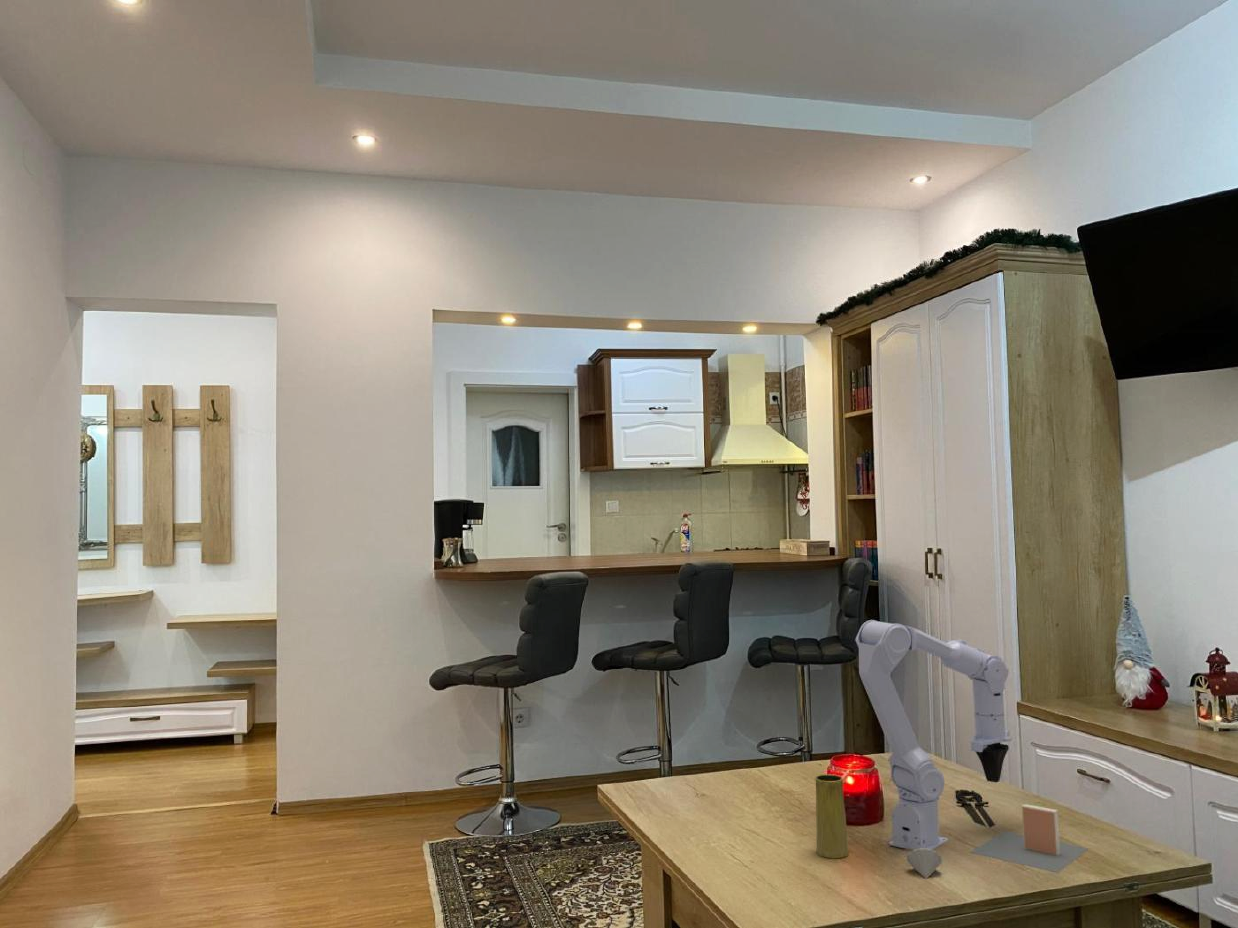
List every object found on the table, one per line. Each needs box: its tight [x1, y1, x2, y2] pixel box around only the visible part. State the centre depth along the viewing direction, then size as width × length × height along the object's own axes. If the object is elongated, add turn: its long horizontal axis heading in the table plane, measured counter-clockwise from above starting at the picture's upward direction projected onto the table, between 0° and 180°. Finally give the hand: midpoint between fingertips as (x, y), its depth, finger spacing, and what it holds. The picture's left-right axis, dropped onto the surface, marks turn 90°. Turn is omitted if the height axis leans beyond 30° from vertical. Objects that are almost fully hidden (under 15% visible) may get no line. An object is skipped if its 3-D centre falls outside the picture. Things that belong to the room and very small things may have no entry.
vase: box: [814, 773, 850, 859], centre depth 176 cm, size 6×6×14 cm
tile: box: [1021, 804, 1061, 856], centre depth 173 cm, size 2×6×8 cm, turn 45°
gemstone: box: [906, 848, 943, 880], centre depth 164 cm, size 6×6×5 cm
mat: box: [969, 830, 1089, 874], centre depth 173 cm, size 16×16×1 cm
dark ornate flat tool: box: [954, 789, 996, 829], centre depth 199 cm, size 26×7×1 cm, turn 165°
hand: (993, 780), depth 186 cm, fingers closed
